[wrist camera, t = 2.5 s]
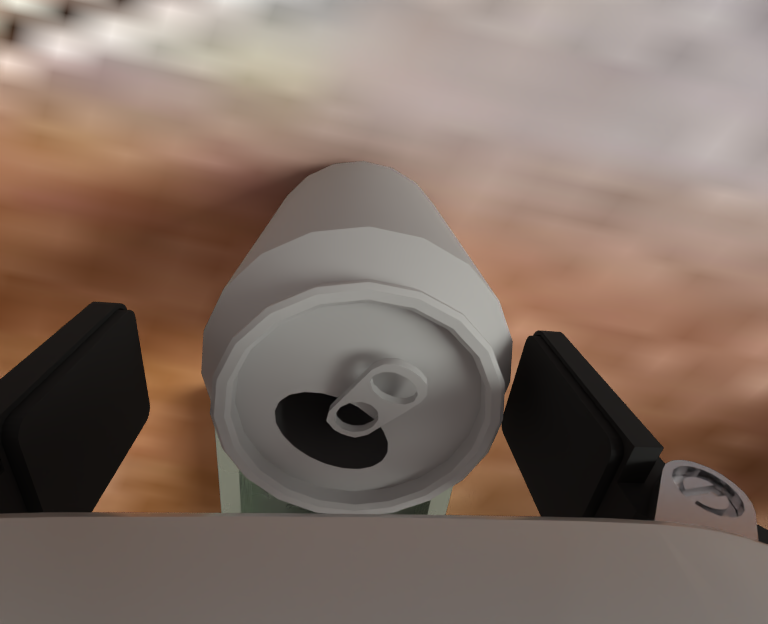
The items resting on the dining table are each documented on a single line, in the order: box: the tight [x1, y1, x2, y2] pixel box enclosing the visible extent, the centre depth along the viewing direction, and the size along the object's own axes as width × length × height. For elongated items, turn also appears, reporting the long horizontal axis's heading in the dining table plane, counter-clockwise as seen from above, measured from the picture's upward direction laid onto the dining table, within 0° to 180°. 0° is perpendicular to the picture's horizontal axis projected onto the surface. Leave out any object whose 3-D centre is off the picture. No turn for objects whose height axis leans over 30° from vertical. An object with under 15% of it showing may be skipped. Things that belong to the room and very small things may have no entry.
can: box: [201, 161, 513, 514], centre depth 14 cm, size 8×8×12 cm
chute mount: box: [215, 429, 453, 515], centre depth 24 cm, size 12×19×7 cm, turn 173°
